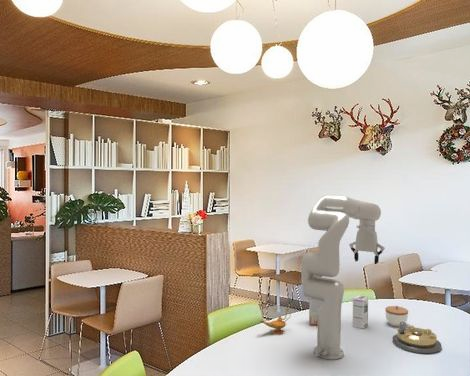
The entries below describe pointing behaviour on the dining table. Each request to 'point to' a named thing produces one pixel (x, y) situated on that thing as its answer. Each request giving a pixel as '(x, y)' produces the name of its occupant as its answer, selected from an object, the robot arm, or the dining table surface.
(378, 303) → the dining table surface
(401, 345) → the base
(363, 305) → the syrup box
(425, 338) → the gold dish
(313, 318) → the cracker box
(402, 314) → the lidded jar
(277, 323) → the magic lamp
